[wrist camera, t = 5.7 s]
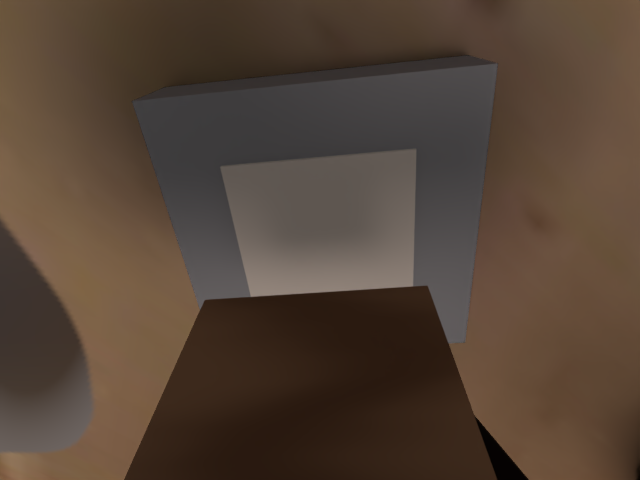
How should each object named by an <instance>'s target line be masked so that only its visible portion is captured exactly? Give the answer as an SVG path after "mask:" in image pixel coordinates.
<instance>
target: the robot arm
mask: <svg viewBox="0 0 640 480" xmlns="http://www.w3.org/2000/svg"><path fill="white" fill-rule="evenodd" d="M474 416H475V415H474ZM475 419H476V422H477V425H478V427H479V430H480V433H481V436H482V439H483V441H484V444H485V447H486V450H487V453H488V455H489V458H490V461H491V464H492V466H493V469H494V472H495V475H496V478H497V480H529V479H528V478H527V477H526V476H525V475H524V474H523V472H522V471H521V470H520V469H519V468H518V466H517V465H516V464H515V463H514V462H513V461H512V459H511V458H510V457H509V456H508V455H507V453H506V452H505V451H504V450H503V449H502V447H501V446H500V445H499V444H498V443H497V442H496V440H495V439H494V438H493V437H492V436H491V434H490V433H489V432H488V431H487V430H486V428H485V427H484V426H483V425H482V424H481V423H480V421H479V420H478V419H477V418H476V417H475Z"/></svg>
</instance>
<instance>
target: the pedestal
mask: <svg viewBox="0 0 640 480" xmlns="http://www.w3.org/2000/svg"><path fill="white" fill-rule="evenodd" d="M497 67H498V63H495V62H491V61H488V60H484V59H480V58H477V57H473V56H470V55H466V56H456V57H447V58H437V59H428V60H418V61H409V62H399V63H390V64H380V65H371V66H361V67H352V68H342V69H333V70H323V71H314V72H304V73H295V74H285V75H276V76H266V77H257V78H247V79H238V80H228V81H219V82H209V83H200V84H190V85H181V86H171V87H164V88H162V89H159V90H157V91H155V92H152V93H150V94H148V95H145V96H143V97H141V98H138V99H136V100H133V101H132V103H133V106H134V109H135V112H136V115H137V118H138V121H139V124H140V127H141V130H142V133H143V136H144V140H145V143H146V146H147V149H148V152H149V155H150V158H151V161H152V164H153V167H154V170H155V173H156V176H157V179H158V182H159V185H160V189H161V192H162V195H163V198H164V201H165V204H166V207H167V210H168V213H169V216H170V219H171V222H172V225H173V228H174V231H175V234H176V238H177V241H178V244H179V247H180V250H181V253H182V256H183V259H184V262H185V265H186V268H187V271H188V274H189V277H190V280H191V283H192V287H193V290H194V293H195V296H196V299H197V302H198V305H199V308H200V309H201V307H202V305H203V303H204V301H205V300H209V299H225V298H240V297H256V296H271V295H287V294H302V293H318V292H334V291H349V290H365V289H380V288H396V287H411V286H427V285H428V288H429V291H430V293H431V296H432V299H433V302H434V305H435V307H436V310H437V313H438V316H439V319H440V321H441V324H442V327H443V330H444V332H445V335H446V338H447V341H448V343H464V342H465V338H466V330H467V321H468V313H469V304H470V296H471V287H472V279H473V270H474V262H475V253H476V245H477V236H478V228H479V219H480V211H481V202H482V194H483V185H484V177H485V169H486V160H487V152H488V143H489V135H490V126H491V118H492V109H493V101H494V92H495V84H496V75H497Z"/></svg>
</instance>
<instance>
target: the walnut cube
mask: <svg viewBox="0 0 640 480" xmlns="http://www.w3.org/2000/svg"><path fill="white" fill-rule="evenodd" d="M124 480H497V478H496V475H495V472H494V469H493V466H492V464H491V461H490V458H489V455H488V453H487V450H486V447H485V444H484V441H483V439H482V436H481V433H480V430H479V427H478V425H477V422H476V419H475V416H474V413H473V411H472V408H471V405H470V402H469V399H468V397H467V394H466V391H465V388H464V386H463V383H462V380H461V377H460V374H459V372H458V369H457V366H456V363H455V360H454V358H453V355H452V352H451V349H450V346H449V344H448V341H447V338H446V335H445V332H444V330H443V327H442V324H441V321H440V319H439V316H438V313H437V310H436V307H435V305H434V302H433V299H432V296H431V293H430V291H429V288H428V285H427V286H411V287H396V288H380V289H365V290H349V291H334V292H318V293H302V294H287V295H271V296H256V297H240V298H225V299H209V300H205V301H204V303H203V305H202V307H201V309H200V312H199V314H198V316H197V318H196V321H195V323H194V325H193V327H192V330H191V332H190V334H189V336H188V338H187V341H186V343H185V345H184V347H183V350H182V352H181V354H180V356H179V358H178V361H177V363H176V365H175V367H174V370H173V372H172V374H171V376H170V379H169V381H168V383H167V385H166V387H165V390H164V392H163V394H162V396H161V399H160V401H159V403H158V405H157V408H156V410H155V412H154V414H153V416H152V419H151V421H150V423H149V425H148V428H147V430H146V432H145V434H144V437H143V439H142V441H141V443H140V445H139V448H138V450H137V452H136V454H135V457H134V459H133V461H132V463H131V466H130V468H129V470H128V472H127V474H126V477H125V479H124Z"/></svg>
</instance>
